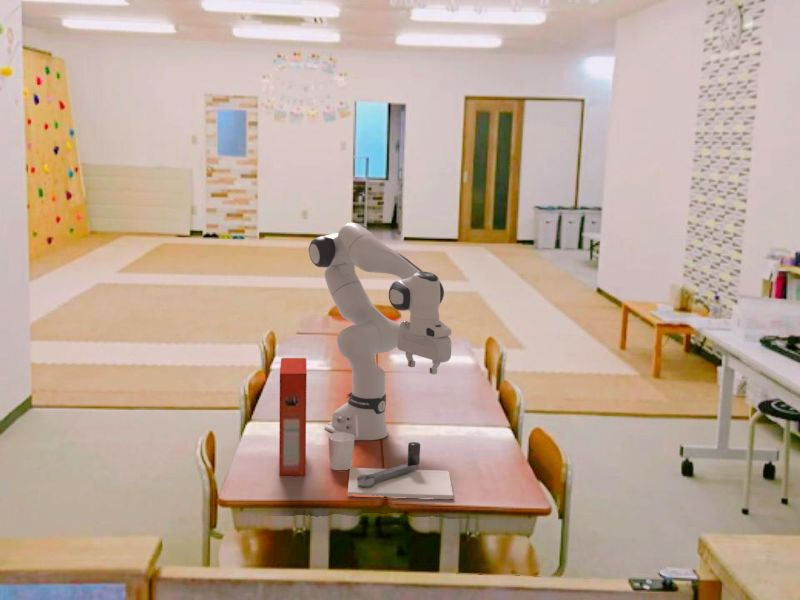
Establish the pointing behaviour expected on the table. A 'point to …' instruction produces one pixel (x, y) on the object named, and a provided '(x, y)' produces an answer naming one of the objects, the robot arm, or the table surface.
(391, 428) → the table surface
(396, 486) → the lever board
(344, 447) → the white cup
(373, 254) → the robot arm
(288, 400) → the file binder
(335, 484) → the table surface
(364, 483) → the lever
